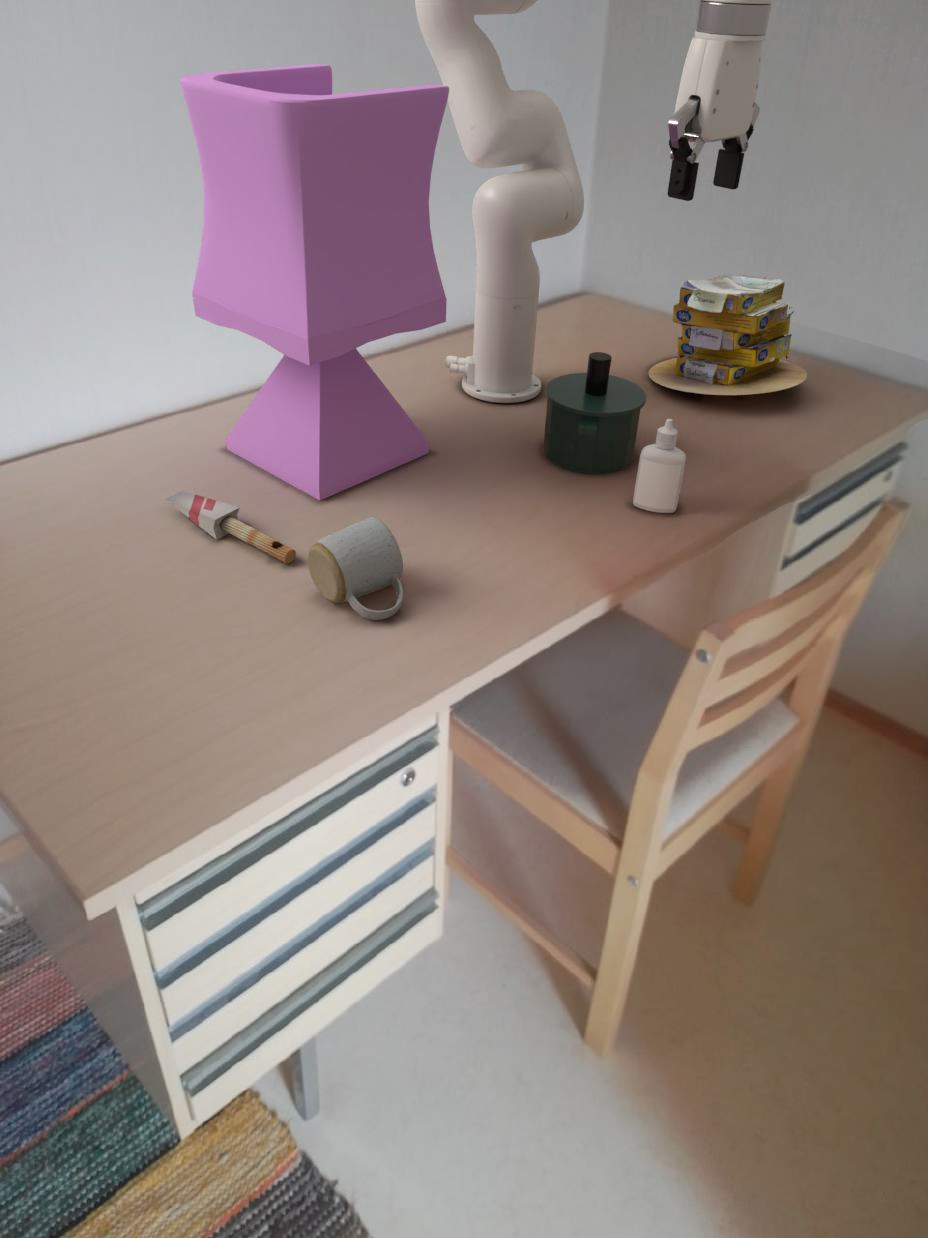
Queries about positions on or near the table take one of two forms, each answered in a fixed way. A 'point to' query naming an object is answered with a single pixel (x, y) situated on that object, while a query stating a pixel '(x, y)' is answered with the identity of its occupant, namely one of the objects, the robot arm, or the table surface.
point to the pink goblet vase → (317, 258)
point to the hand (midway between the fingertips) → (703, 192)
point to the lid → (596, 391)
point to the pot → (589, 440)
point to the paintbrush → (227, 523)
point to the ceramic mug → (357, 565)
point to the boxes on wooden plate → (731, 338)
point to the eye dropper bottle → (660, 473)
